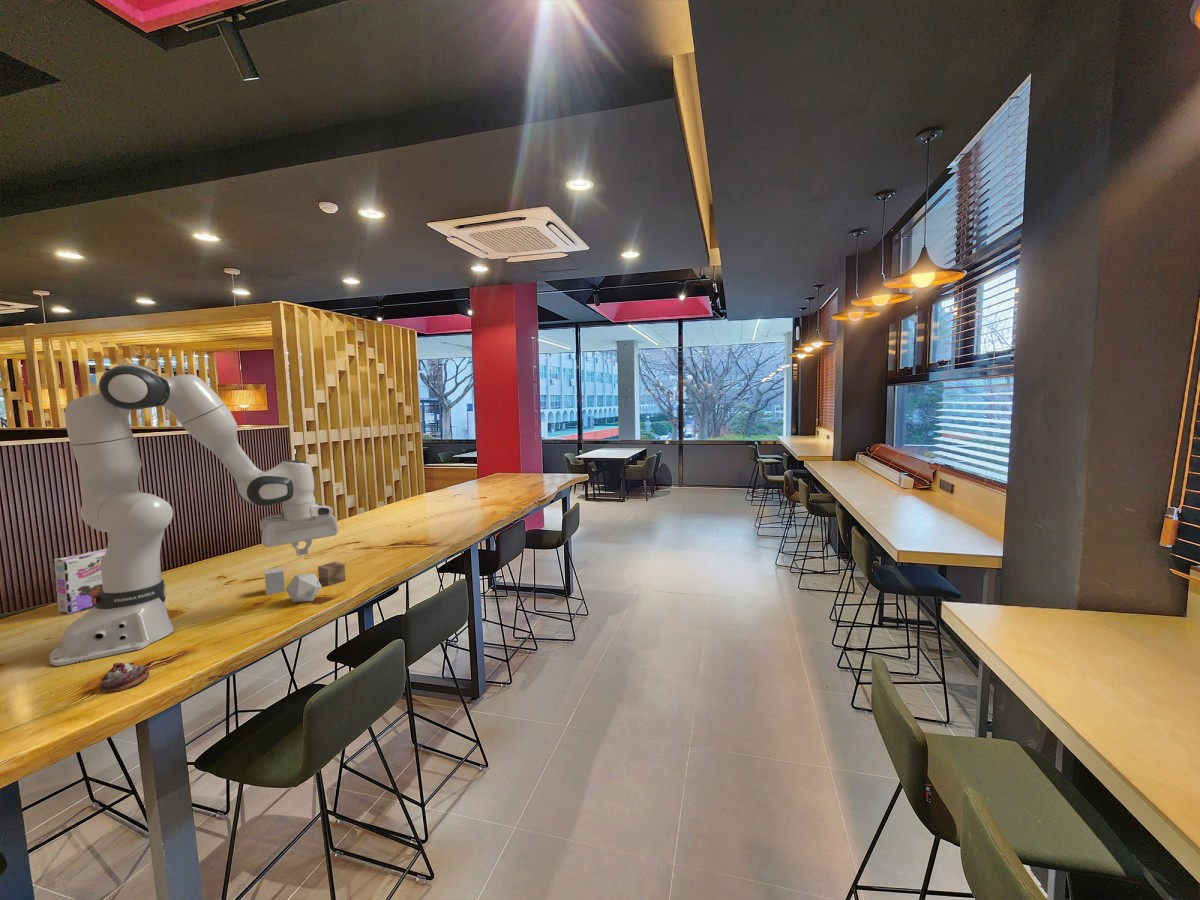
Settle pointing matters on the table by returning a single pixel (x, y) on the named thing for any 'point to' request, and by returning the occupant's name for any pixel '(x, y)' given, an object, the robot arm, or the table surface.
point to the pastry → (123, 677)
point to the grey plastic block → (274, 581)
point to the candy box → (78, 580)
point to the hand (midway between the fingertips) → (302, 554)
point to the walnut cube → (331, 573)
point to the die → (303, 587)
